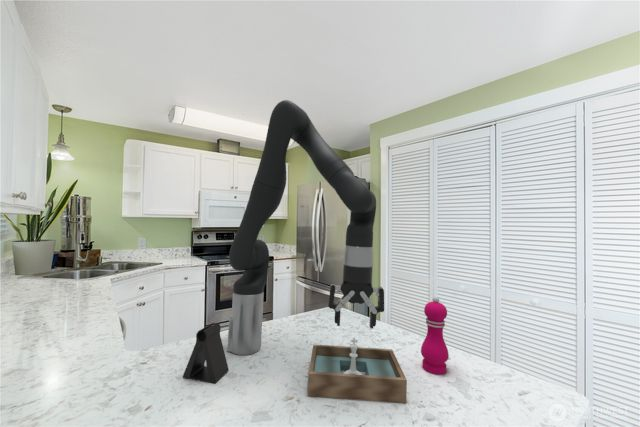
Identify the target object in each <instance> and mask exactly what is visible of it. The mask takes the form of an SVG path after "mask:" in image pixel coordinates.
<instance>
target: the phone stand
mask: <svg viewBox="0 0 640 427" xmlns="http://www.w3.org/2000/svg"><path fill="white" fill-rule="evenodd" d="M221 328H222V327H221V324H220V323H219V322H216V323H215V322H212V323H210V324H209V325H206V326H205V327H203V328H201V329H200V330H198V331H197V332H196V333H195V334H196V336H195V338H196V339H195V340H196V341H195V345H194V347H193V350H192V352H191V354H190V357H189V359H188V362H187V364H186V367H185V369H184V372H183V375H182V378H183V379H186V380H190V381H197V382H198V381H199V382H203V383H209V384H217V382H218V381H220V380H221V379H222V378H223V377H224V376H225V375H226V374H227V373H228V372H229V371H230V370H229V366H228V362H227V358H226V357H227V356H226V354H225V350H224V345H223V342H222V337H221ZM205 364H206V365H205Z"/></svg>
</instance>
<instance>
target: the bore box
mask: <svg viewBox="0 0 640 427" xmlns="http://www.w3.org/2000/svg"><path fill="white" fill-rule="evenodd" d="M311 351H312V352H311V357H310V362H309V368H308V373H307V374H308V376H307V395H306V396H307V397H312V398H313V397H314V398H327V399H329V398H330V399H340V400H341V399H342V400H354V401H357V400H358V401H367V402H368V401H369V402H381V403H382V402H384V403H397V404H398V403H399V404H407V390H408V389H407V388H408V387H407V386H408V380H407V377H406V375H405V373H404V371H403V369H402V367H401V365H400V363H399V361H398V358H397V357H396V354H395V352H394V350H393V349H391V348H389V349H388V348H375V347H363V346H362V347H361V346H358V348H357V350H356V354H357V355H358V357H355V360H356V370H357V371H358V372H365V374H362V375H356V374H344V373H341V371H347V370H349V369H350V365H351V358H352V357H350V353H352V352H351V348H350V346H344V345H343V346H342V345H328V344H312V350H311Z"/></svg>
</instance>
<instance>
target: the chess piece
mask: <svg viewBox="0 0 640 427" xmlns="http://www.w3.org/2000/svg"><path fill="white" fill-rule="evenodd" d="M350 342H351V344H350V345H349V347H350V348H351V352H352V353H350V357H352V358H351V365H350V369H349V370H344V372H343V374H356V375H363V374H362V373H361V371H357V370H356V360H355V357H358V355H357V354H356V350H357V348H358V347H359V346H358V344H357V343H358V340H356V337H352V339H350Z"/></svg>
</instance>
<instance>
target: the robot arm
mask: <svg viewBox="0 0 640 427" xmlns="http://www.w3.org/2000/svg"><path fill="white" fill-rule="evenodd" d="M291 140H292V141H294V142H295V143H296V144H298V145H299V146H300V148H302V149H303V150H305V152H306V153H307V155H308V156H309V158H310V159H311V162H313V165H314V167H315V168H316V169H317V171H318V173H320V175H321V176H322V178H323V179H324V180H325V181H326V182H327V183H328V185H329V186H330V187H331V188H332V189H333V190H334V191H335V192H336V194H337V195H338V197H339V199H340V200H341V201H342V203H343V204H344V205H345V206H346V208H347V209H348V210H349V211H350V217H349V218H350V220H349V224H348V225H347V227H346V234H345V248H344V252H343V253H344V254H343V271H342V283H341V285H339V284H335V283H331V284H330V288H329V296H328V308H329V309H332V310H334V324H336V327H340V326H341V309H342V308H344V307H345V306H346V304H347V303H350V304H359V305H363V304H366V305H367V307H368V309H370V311H369V328H370V329H371V330H372V329H374V327H376V325H377V314H378V313H384V312H385V290H384V288H383V287H382V286H378V287H373V285H372V284H373V282H372V281H373V265H374V264H373V263H374V262H373V261H374V252H373V245H374V244H373V241H374V224H375V218H376V213H377V199H376V196H375V194H374V192H372V191H371V190H369V189H368V188H367V186H365V185H364V183H363V182H361V181H360V179H358V177H357V176H356V175H355V173H354V172H353V170H352V169H351V168H350V167H349V165H348V164H347V163H346V162H345V161H344V160H343V159H342V157H341V156H340V155H338V153H337V152H336V151H335V150H334V149H333V148H332V147H331V146H330V145H329V144H328V143H327V141H325V139H324V138H323V137H322V135H321V134H320V133H319V131H318V130H317V128H316V127H315V125H314V124H313V122H312V120H311V119H310V117H309V115H308V114H307V112H306V111H305V110H304V109H303V108H301V106H299V105H298V104H296V103H295V102H293V101H291V100H288V99H284V100H281V101H279V102H278V103H276V105H275V106H274V108H273V110H272V112H271V115H270V118H269V122H268V129H267V132H266V138H265V143H264V146H263V151H262V153H261V158H260V162H259V165H258V168H257V172H256V175H255V178H254V181H253V184H252V186H251V190H250V194H249V198H248V201H247V204H246V207H245V210H244V213H243V216H242V219H241V222H240V225H239V227H238V229H237V231H236V234H235V236H234V238H233V241H232V244H231V247H230V249H229V254H228V255H229V256H228V259H229V264H230V266H231V268H232V269H233V270H235V271H238V272H239V271H240V272H241V271H243V274H242V276H241V277H240V278H239V279H237V280H236V281H235V282H234V283H233V286H232V288H233V289H232V300H231V301H232V302H231V304H232V305H231V306H232V308H231V317H230V318H229V319H228V333H227V349H226V350H227V352H229V353H232V354H235V355H240V356H241V355H242V356H243V355H244V356H246V355H248V356H249V355H252V354H255V353H257V352H259V351H260V350H261V347H262V335H263V334H262V331H263V313H264V312H263V311H264V294H265V292H264V290H265V286H266V285H267V284H266V283H267V280H268V273H269V263H270V252H269V247H268V245H267V243H266V242H265V241H264V240H262V239H258V236H259V234H260V231H261V230H262V228H263V226H264V225H265V224H266V223H267V221H268V220H269V219H270V218H271V217H272V215H274V213H275V212H276V211H277V209H278V208H279V206H280V204H281V201H282V199H283V195H284V192H285V189H286V185H287V152H288V148H289V145H290V142H291ZM339 291H340V292H341V293H342V296H341V297H340V298H339V300H338V302H337V303H335V302H334V301H335V294H336V295H337V294H338V293H339ZM373 293H374V294H375V296H376V297H377V305H376V306H375V305H374V303H373V302H372V300H371V299H370V297H371V296H372V295H373Z"/></svg>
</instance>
